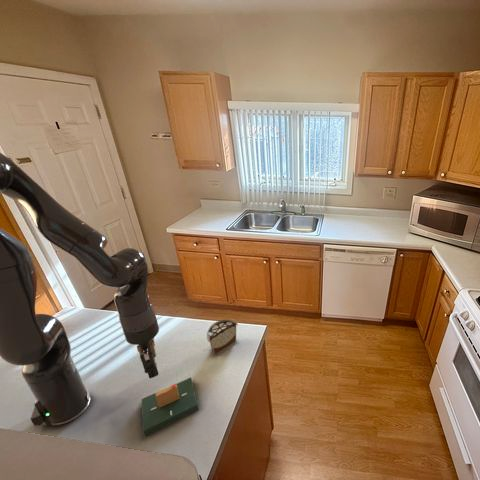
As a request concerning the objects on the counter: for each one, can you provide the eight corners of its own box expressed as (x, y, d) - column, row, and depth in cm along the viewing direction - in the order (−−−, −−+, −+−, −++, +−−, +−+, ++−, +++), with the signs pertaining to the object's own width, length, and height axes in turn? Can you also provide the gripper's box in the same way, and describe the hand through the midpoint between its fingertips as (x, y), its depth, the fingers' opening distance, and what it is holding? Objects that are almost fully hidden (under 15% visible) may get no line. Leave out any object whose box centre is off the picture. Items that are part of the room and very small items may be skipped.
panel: (144, 436, 71) (142, 430, 70) (143, 403, 79) (141, 398, 78) (198, 409, 79) (197, 403, 78) (191, 382, 87) (190, 377, 86)
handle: (159, 408, 76) (155, 396, 74) (158, 404, 77) (155, 392, 75) (179, 398, 79) (176, 386, 77) (179, 395, 80) (176, 383, 78)
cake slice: (230, 332, 109) (228, 314, 105) (239, 340, 105) (237, 321, 101) (203, 349, 100) (199, 329, 96) (211, 358, 96) (208, 338, 92)
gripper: (122, 311, 70) (136, 354, 77) (121, 344, 60) (138, 391, 66) (153, 302, 74) (164, 343, 81) (158, 332, 64) (170, 377, 70)
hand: (152, 365), depth 74 cm, fingers open, 8 cm apart
